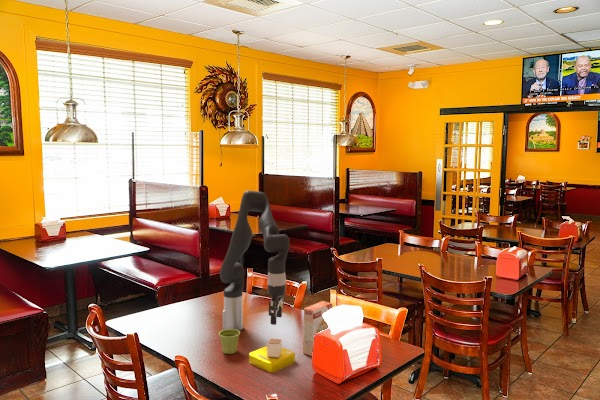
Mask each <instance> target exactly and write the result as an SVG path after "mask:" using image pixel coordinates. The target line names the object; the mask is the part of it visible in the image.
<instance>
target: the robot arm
mask: <svg viewBox="0 0 600 400" xmlns="http://www.w3.org/2000/svg"><path fill="white" fill-rule="evenodd" d="M267 196H268V195H266V193H265V192H262V191H256V190H245V191H244V192H243V195H242V196H241V200H240V205H239V210H238V214H237V219H236V222H235V225H234V229H233V232H232V235H231V237H230V243H229V245H228V249H227V252H226V254H225V257H224V259H223V261H222V264H221V266H220V270H219V278H220V281H221V282H222V283H223V284H229V285H228V286H227V287H225V288H224V289H223V310H222V312H221V314H222V330H226V329H236V330H239V331H240V332H241V330H243V328H244V327H243V326H244V325H243V323H244V322H243V321H244V319H243V317H244V316H243V313H244V312H243V308H244V307H243V291H244V287H245V286H244V283H245V269H244V267H243V264H241V263H240V262H238V261H239V259H240V258H241V257H242V256H243V255H244V254H245V253H246V252H247V250H248V249H249V247H250V245H251V242H252V239H253V230H252V227H251V225H250V223H249V219H248V215H249V212H256V213H257V212H258V213H259V212H260V213H261V215H260V217H259V220H258V227H259V229H260V232H261V234H262V236H263V247H264V250H265V251H266V252H268V253H277V254H276V255H275V256H272V257H270V258H268V261H267V279H266V280H267V284H266V287H267V290H266V291H267V295H269V296H271V298H270V300H269V301H268V316H270V325H274V326H276V325H277V318H282V317H283V307H284V305H285V303H284V301H285V296H284V295H286V292H287V291H286V290H287V288H286V287H287V286H286V285H287V282H286V281H287V279H286V278H287V277H286V260H287V256H288V253H289V250H290V246H291V245H290V244H291V242H290V241H291V240H290V237H289V236H288V235H287V234H285V233H283V234H280V229H279V227H278V226H279V225H277V223H276V221H275V219H274V217H273V213H272V209H271V206H270V201H269V199H268V197H267Z"/></svg>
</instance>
